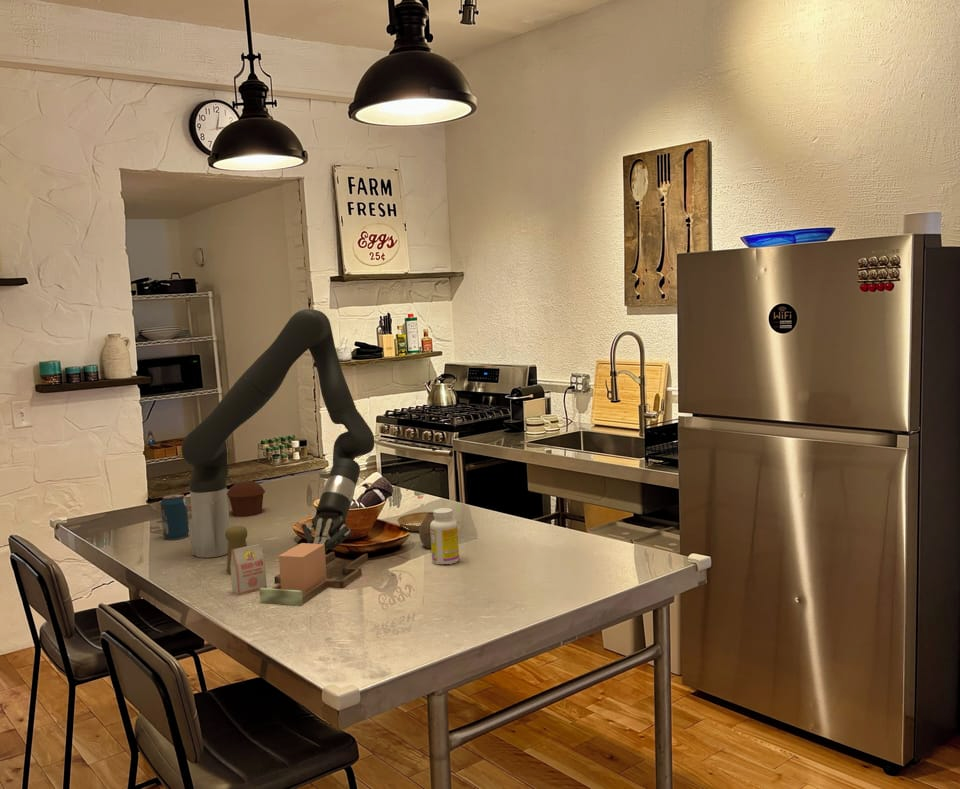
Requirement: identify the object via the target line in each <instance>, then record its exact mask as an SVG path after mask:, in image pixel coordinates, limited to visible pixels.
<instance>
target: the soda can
mask: <svg viewBox="0 0 960 789" xmlns="http://www.w3.org/2000/svg"><path fill="white" fill-rule="evenodd" d="M187 503H188V502H187V499H186V497H185V495H184V494H183V493H170V494H165V495H163V496H162V498H161V501H160V511H161V513H160V514H161V525H162V534H163V537H164V538H165V539H166V540H170V541H171V540H172V541H173V540H175V541H176V540H180V539H181V540H182V539H185V538H187V536H188V535H189V533H190V526H189V517H188V515H189V514H188V507H187V506H188V505H187Z"/></svg>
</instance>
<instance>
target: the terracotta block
mask: <svg viewBox="0 0 960 789" xmlns="http://www.w3.org/2000/svg"><path fill="white" fill-rule="evenodd" d="M325 556H326V553H325V544H310V543H308V542H307V543H306V542H301V543H299V544H297V545H295V546H293V547H292V548H290V549H288V550H287V551H285V552H283V553H281V554H280V555H278V565H279V567H278V568H279V574H280V581H281V589H286V590H300V591H302V595H303V594H305V593H306V592H308V591H309V590H311V589H312V588H314V587H315V586H317V585H318V584H320V583H321V582H323V581H324V580H326V579H328V577H327V563H326V559H325Z"/></svg>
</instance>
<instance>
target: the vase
mask: <svg viewBox="0 0 960 789" xmlns="http://www.w3.org/2000/svg"><path fill="white" fill-rule="evenodd" d="M429 512H430V513H427V515H426V517H425V519H424V520H423V522H422V523H421V526H420V530H419V532H418V535H419V539H420V542H421V544H422V545H423V546H424V547H425V548H427V547H429V548H428V549H431V532H430V524H431V522H432V521H433V520H435V517H434V516H433V511H429Z"/></svg>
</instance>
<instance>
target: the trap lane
mask: <svg viewBox="0 0 960 789" xmlns="http://www.w3.org/2000/svg"><path fill="white" fill-rule="evenodd" d="M335 552H336V551H331V552H329V553H328V554H325V559H326V564H328V563H329V562H331V561H332V560H333V559H335V558H336V554H335ZM368 560H369V554H368V553H364V554H362V555H360V556H359V557H357V558H356V559H355V560H353V561H352V562H350V563H348V564H347V565H345V566H344V567H343V568H341V569H342V574H340V575H338V576H337V577H335V578H334V579H330V578H329V579H328V578H327V579H326V580H324V581H323V582H321V583H320V584H318V585H317V586H315V587H314V588H312V589H311V590H309V591H308V592H306V593H305V594H303V595H302V591H300V590H286V589H281V581H280V573H278V574H277V575H275V576H274V584H277V585H275V586H273V587H271V588H270V587H267V588H260V589H259V590H258V591H259V599H260V600H259V602H260V603H263V604H264V603H267V604H278V605H279V604H280V605H290V606H291V605H292V606H303V604H305V603H306V602H308V601H310V600H311V599H312V598H314V597H315V596H317V595H318V594H320V593H321V592H323V591H325V590H326V589H327V588H335V589H336V588H338V589H343V588H345V587H347V586H348V585H349V584H351V583H352V582H354V581H355V580H357V579H358V578H360V577H361V576H362V575H363V574H362V572H363V571H362V570H363V569H362V568H360V566H361V565H362V564H364V563H365V562H367V561H368ZM357 567H359V568H357Z"/></svg>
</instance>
